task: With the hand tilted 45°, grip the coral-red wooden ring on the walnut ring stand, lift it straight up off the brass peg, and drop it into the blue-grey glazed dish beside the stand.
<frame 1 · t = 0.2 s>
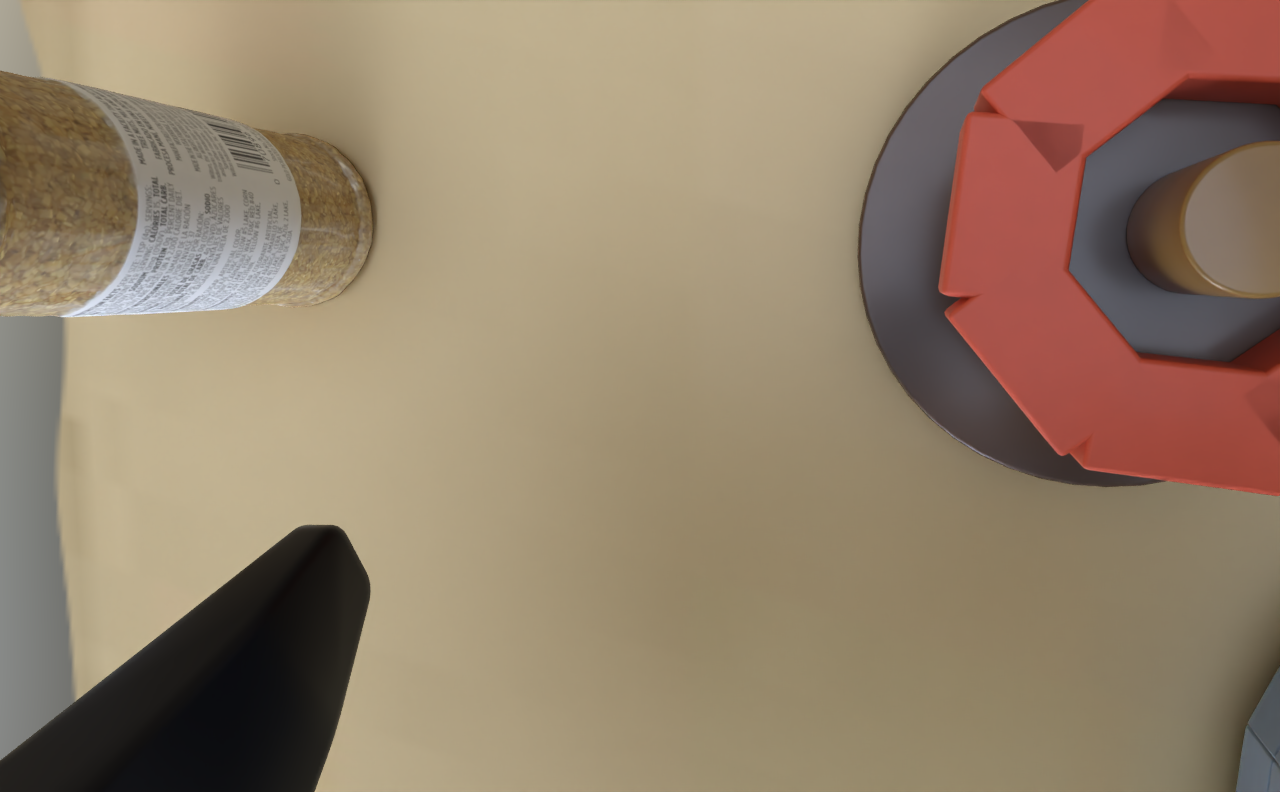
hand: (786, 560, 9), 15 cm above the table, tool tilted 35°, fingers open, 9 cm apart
ring: (1194, 231, 14), point 8 cm above the table, touching ring stand
ring stand: (1096, 246, 22), on the table
sprinkles bottle: (308, 223, 27), on the table
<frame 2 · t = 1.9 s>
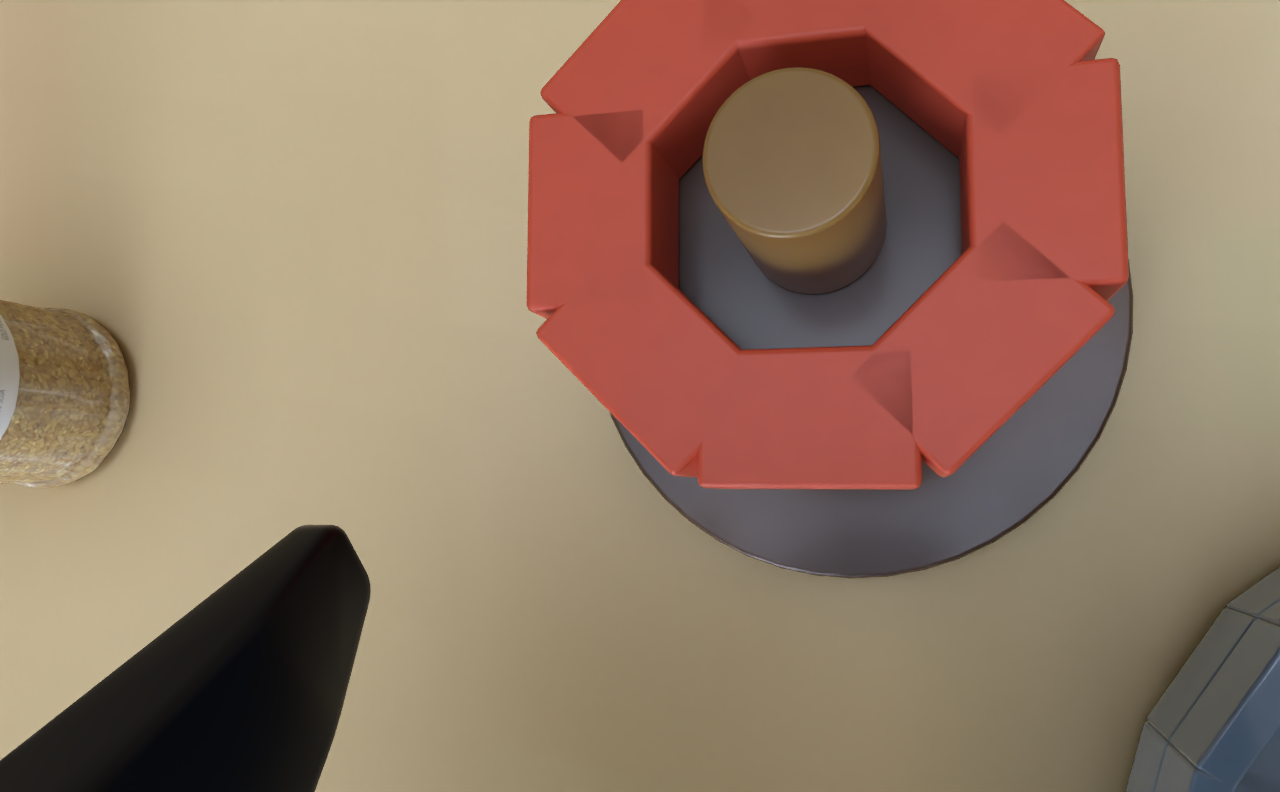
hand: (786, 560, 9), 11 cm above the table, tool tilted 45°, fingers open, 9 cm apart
ring: (815, 226, 13), point 8 cm above the table, touching ring stand
ring stand: (849, 323, 20), on the table
sprinkles bottle: (72, 400, 25), on the table
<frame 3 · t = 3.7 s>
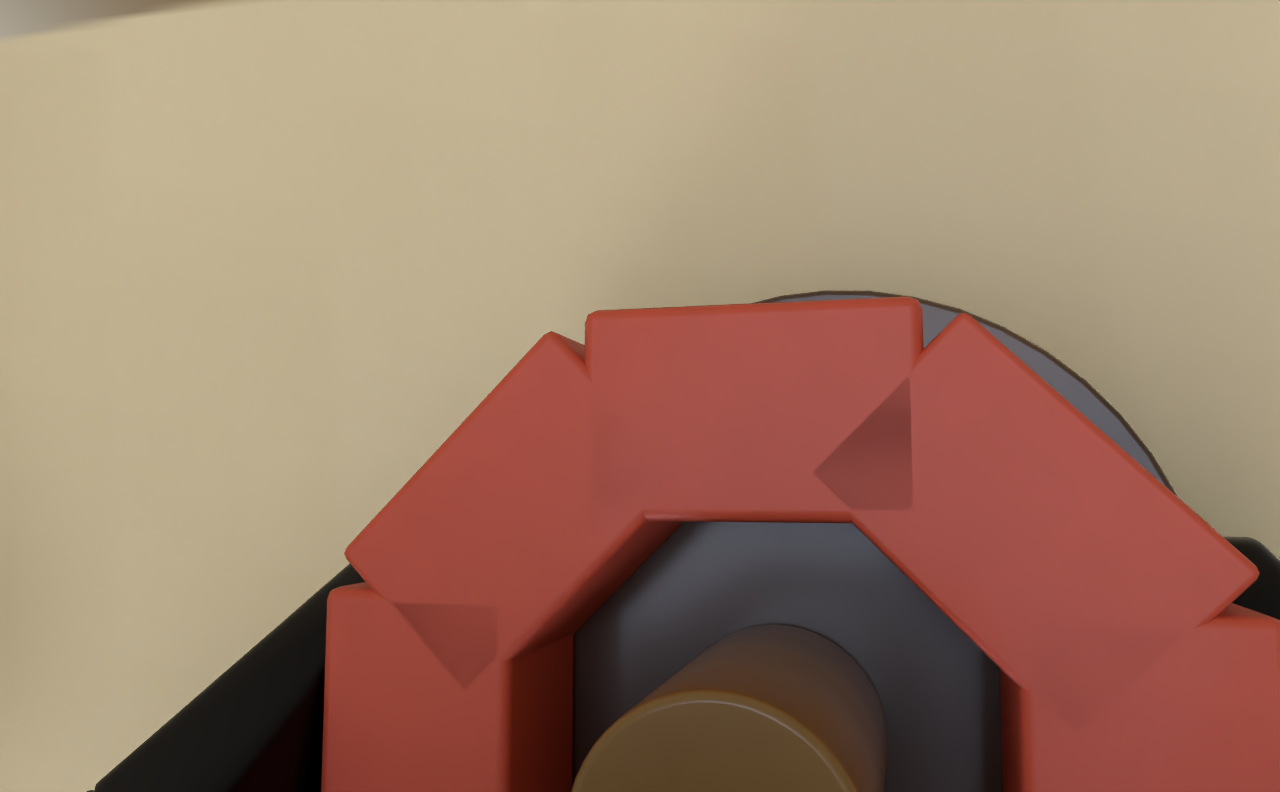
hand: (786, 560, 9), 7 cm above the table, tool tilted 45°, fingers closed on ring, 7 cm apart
ring: (776, 729, 9), point 8 cm above the table, touching gripper, ring stand
ring stand: (839, 619, 16), on the table
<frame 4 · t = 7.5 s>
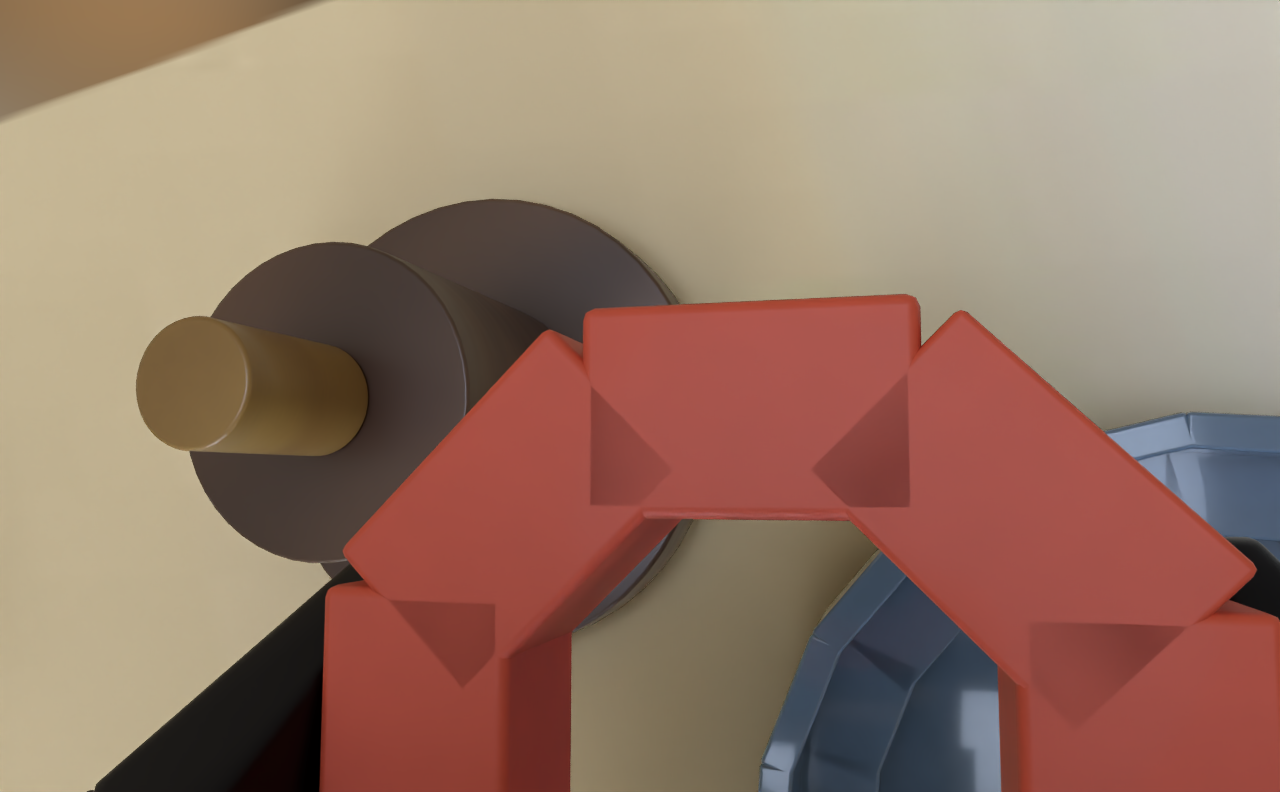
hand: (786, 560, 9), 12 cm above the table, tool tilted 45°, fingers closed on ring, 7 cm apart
ring: (775, 727, 9), point 13 cm above the table, touching gripper
ring stand: (504, 425, 23), on the table
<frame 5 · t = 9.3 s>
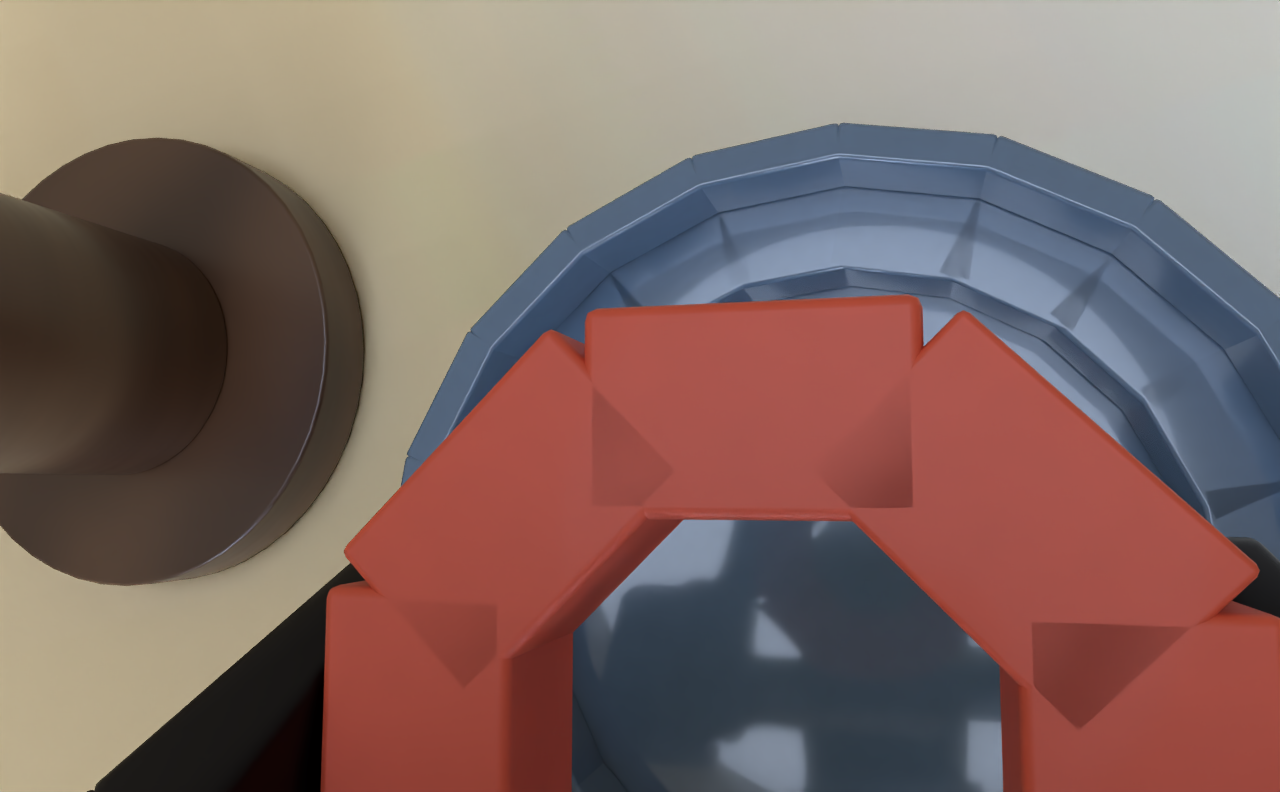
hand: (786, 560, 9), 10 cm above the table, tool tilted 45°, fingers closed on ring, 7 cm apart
dish: (852, 592, 19), on the table
ring: (776, 728, 9), point 11 cm above the table, touching gripper
ring stand: (175, 365, 24), on the table
when the fingers open (7 cm above the table, at t = 11.1 s): ring drops 7 cm, resting on dish.
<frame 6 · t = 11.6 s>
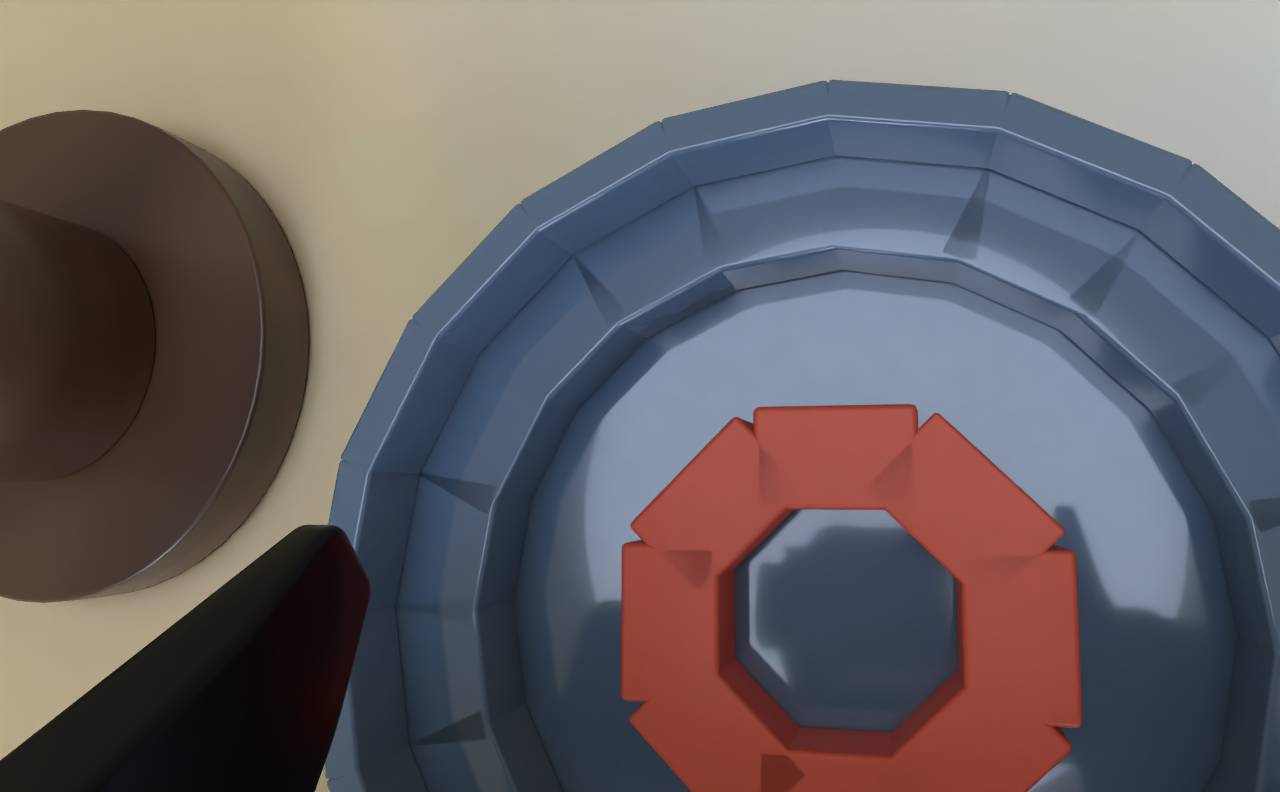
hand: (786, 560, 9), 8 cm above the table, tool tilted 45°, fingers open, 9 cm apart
dish: (844, 613, 17), on the table
ring: (843, 617, 17), resting on dish
ring stand: (105, 360, 22), on the table
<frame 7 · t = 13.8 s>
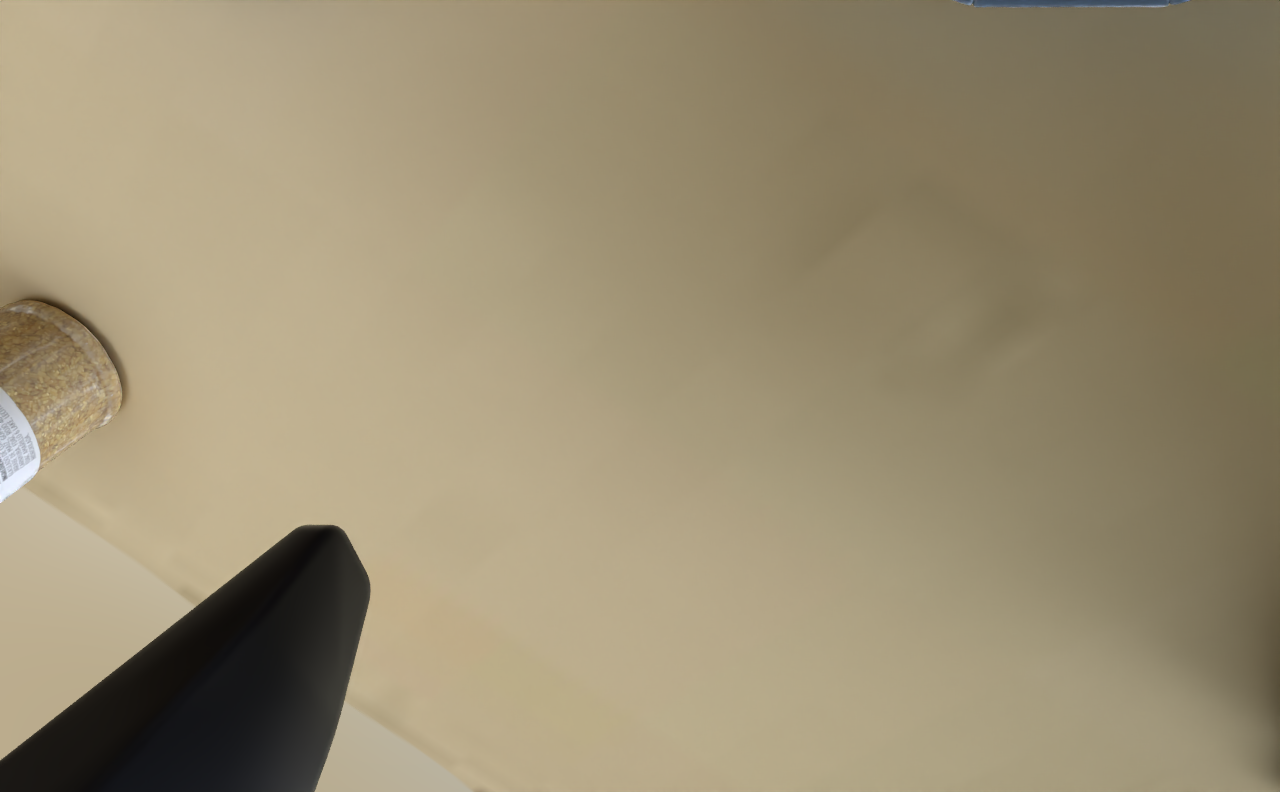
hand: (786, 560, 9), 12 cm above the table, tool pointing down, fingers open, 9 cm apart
sprinkles bottle: (72, 355, 31), on the table
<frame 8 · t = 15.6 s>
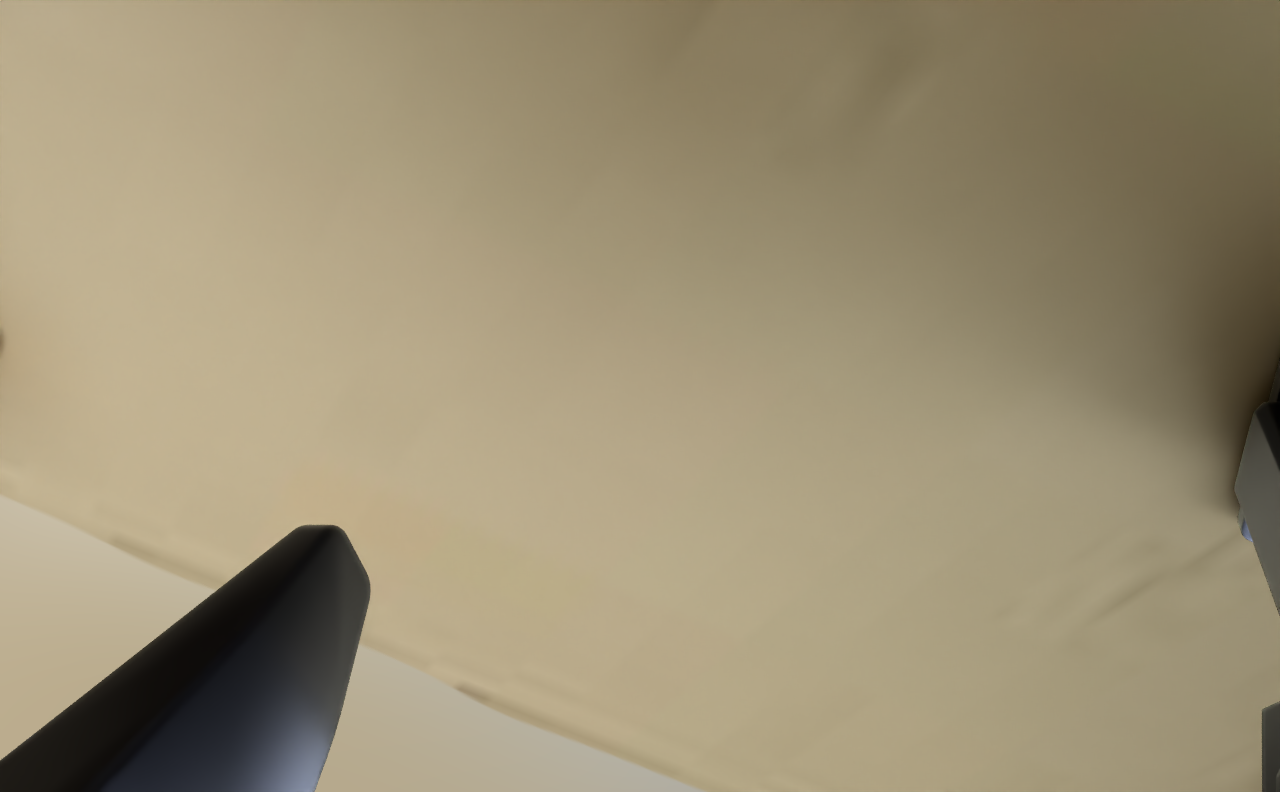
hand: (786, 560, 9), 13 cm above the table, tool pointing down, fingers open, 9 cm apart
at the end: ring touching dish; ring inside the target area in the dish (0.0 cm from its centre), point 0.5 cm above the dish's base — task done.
